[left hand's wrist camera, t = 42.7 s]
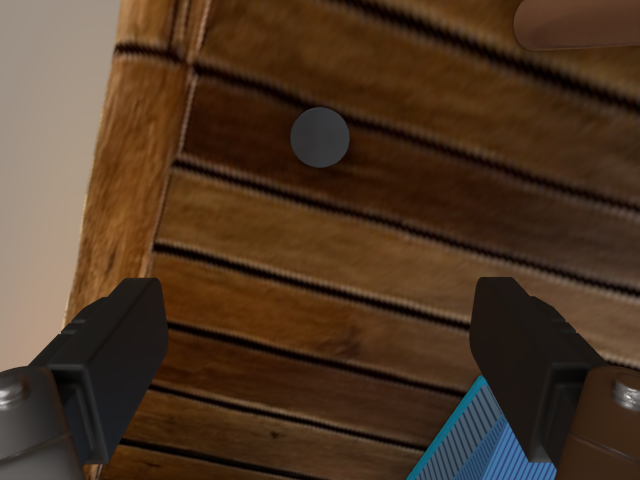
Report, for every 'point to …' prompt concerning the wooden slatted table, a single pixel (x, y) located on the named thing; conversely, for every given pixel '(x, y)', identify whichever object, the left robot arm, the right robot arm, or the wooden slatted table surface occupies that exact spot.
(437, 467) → the model building
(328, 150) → the lid
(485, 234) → the wooden slatted table surface
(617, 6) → the brown rounded cylinder
